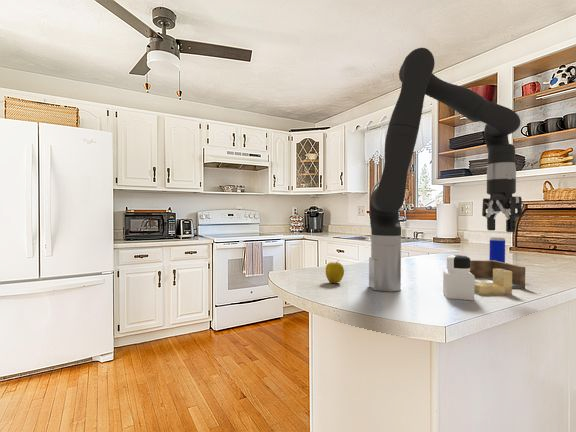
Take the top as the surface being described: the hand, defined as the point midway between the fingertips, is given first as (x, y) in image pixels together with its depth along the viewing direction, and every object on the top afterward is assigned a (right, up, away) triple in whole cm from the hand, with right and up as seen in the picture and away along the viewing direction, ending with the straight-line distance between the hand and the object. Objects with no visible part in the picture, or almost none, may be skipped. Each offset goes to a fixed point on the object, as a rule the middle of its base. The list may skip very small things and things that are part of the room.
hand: (500, 231), depth 99 cm
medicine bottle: (-16, -19, -5) cm, 25 cm away
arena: (+3, -19, +13) cm, 23 cm away
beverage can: (+17, -19, +28) cm, 38 cm away
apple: (-49, -19, +12) cm, 54 cm away
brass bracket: (-3, -19, 0) cm, 19 cm away
